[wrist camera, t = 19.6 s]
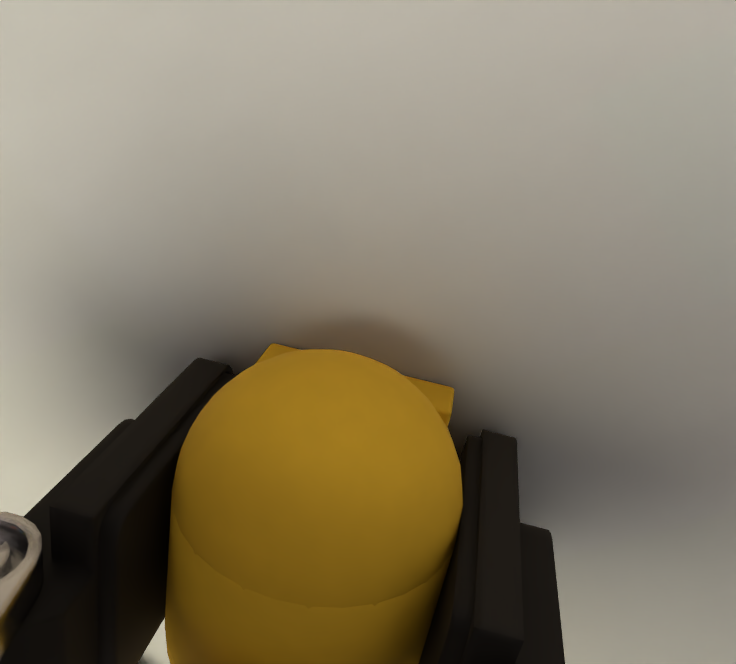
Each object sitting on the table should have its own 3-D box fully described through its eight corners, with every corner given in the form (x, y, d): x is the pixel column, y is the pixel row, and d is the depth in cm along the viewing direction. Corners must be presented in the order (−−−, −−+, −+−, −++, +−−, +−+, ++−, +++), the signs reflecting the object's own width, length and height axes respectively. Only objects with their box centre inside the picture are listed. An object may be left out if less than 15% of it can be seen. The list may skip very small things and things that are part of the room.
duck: (253, 277, 10) (-48, 550, 4) (497, 335, 10) (490, 710, 4) (220, 591, 13) (12, 989, 7) (408, 644, 12) (334, 1107, 7)
